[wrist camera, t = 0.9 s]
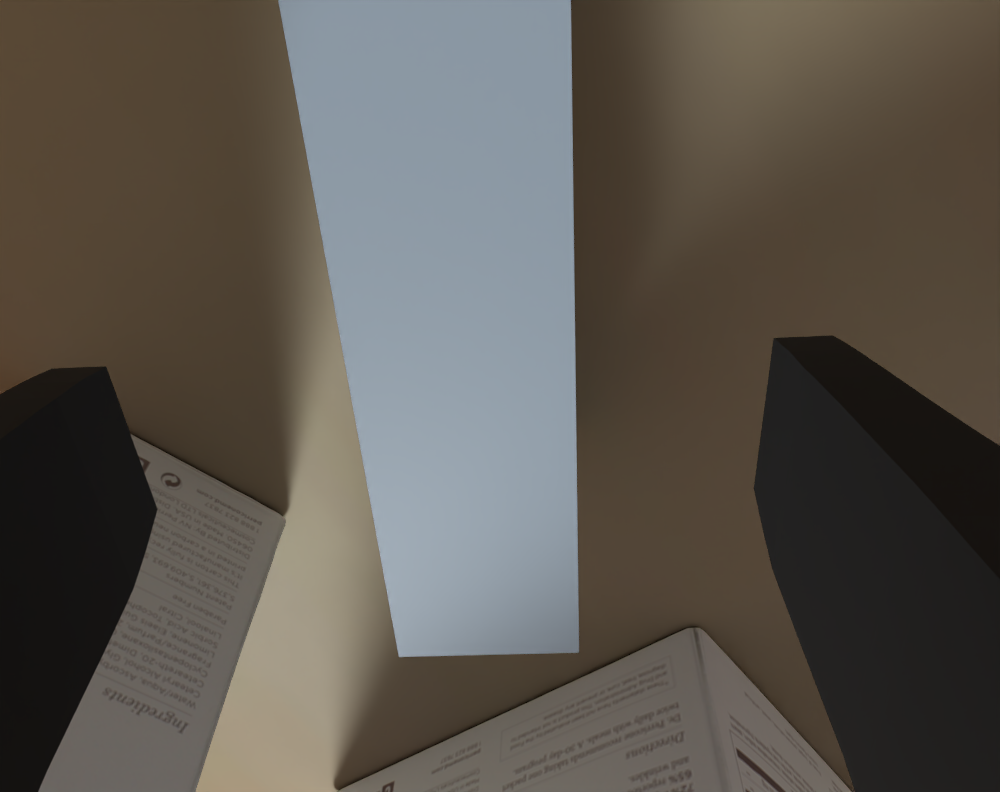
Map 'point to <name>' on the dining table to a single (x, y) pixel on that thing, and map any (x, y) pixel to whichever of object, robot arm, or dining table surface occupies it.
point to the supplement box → (628, 735)
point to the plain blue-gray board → (454, 301)
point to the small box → (171, 639)
